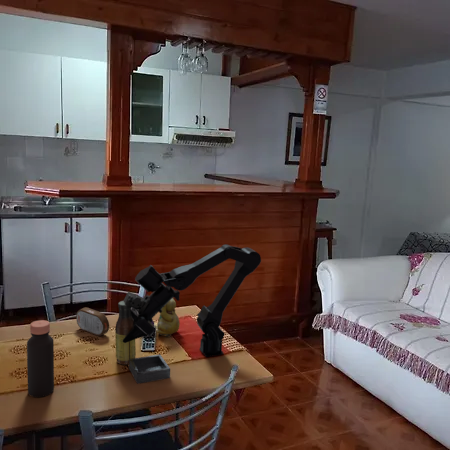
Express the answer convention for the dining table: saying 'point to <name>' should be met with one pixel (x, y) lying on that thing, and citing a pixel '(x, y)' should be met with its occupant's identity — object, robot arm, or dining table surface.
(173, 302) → the decorative figurine
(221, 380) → the dining table surface
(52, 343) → the dark grey water bottle
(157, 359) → the grey square tray
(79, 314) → the wooden speaker
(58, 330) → the dining table surface
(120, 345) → the sauce bottle
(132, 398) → the dining table surface
